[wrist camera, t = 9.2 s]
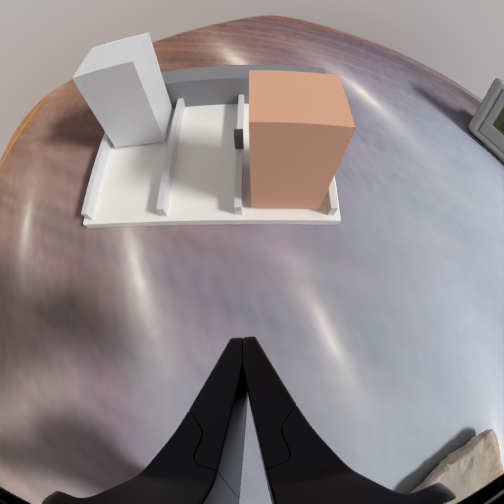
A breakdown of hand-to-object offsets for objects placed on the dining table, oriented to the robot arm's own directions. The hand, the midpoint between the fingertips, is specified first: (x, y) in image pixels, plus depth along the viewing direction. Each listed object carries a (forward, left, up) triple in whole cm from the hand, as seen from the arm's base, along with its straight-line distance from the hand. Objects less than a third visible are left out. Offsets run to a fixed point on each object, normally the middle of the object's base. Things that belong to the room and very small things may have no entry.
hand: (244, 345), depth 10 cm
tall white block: (+24, -5, -13) cm, 28 cm away
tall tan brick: (+9, -11, -13) cm, 19 cm away
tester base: (+17, -9, -14) cm, 24 cm away
